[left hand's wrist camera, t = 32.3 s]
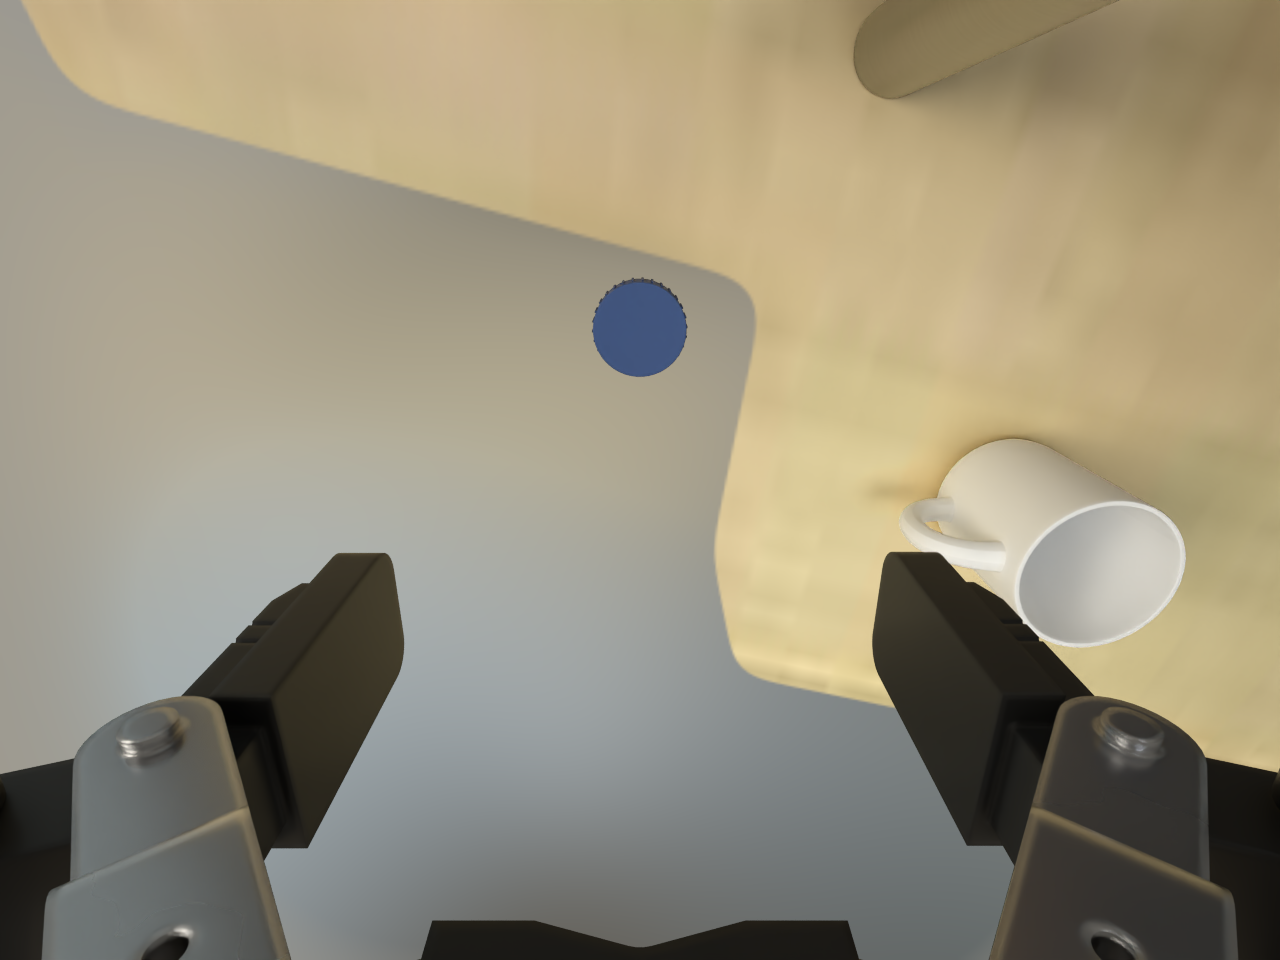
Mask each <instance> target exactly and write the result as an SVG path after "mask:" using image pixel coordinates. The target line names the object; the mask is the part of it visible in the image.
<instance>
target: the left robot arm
mask: <svg viewBox="0 0 1280 960" xmlns="http://www.w3.org/2000/svg"><path fill="white" fill-rule="evenodd" d="M872 647H873V657H874V662H875V666H876V670H877V672H878V675H879V677H880V679H881V681H882V682H883V684H884V686H885V688H886V690H887V692H888V694H889V696H890V698H891V700H892V702H893V704H894V706H895V708H896V709H897V711H898V713H899V715H900V717H901V719H902V721H903V723H904V725H905V727H906V729H907V731H908V733H909V735H910V736H911V738H912V740H913V742H914V744H915V746H916V748H917V750H918V752H919V754H920V756H921V758H922V760H923V762H924V763H925V765H926V767H927V769H928V771H929V773H930V775H931V777H932V779H933V781H934V783H935V785H936V787H937V789H938V790H939V792H940V794H941V796H942V798H943V800H944V802H945V804H946V806H947V808H948V810H949V812H950V814H951V816H952V818H953V819H954V821H955V823H956V825H957V827H958V829H959V831H960V833H961V835H962V837H963V839H964V841H965V843H966V845H967V846H1003V847H1004V848H1005V850H1006V852H1007V854H1008V855H1009V857H1010V859H1011V861H1012V862H1013V864H1014V870H1013V874H1012V877H1011V881H1010V884H1009V888H1008V892H1007V895H1006V899H1005V903H1004V906H1003V910H1002V914H1001V917H1000V921H999V925H998V928H997V932H996V935H995V939H994V943H993V946H992V950H991V954H990V957H989V960H1280V769H1279V771H1278V773H1277V772H1272V771H1267V770H1262V769H1258V768H1253V767H1248V766H1243V765H1239V764H1234V763H1229V762H1225V761H1220V760H1215V759H1210V758H1206V757H1205V756H1204V754H1203V752H1202V750H1201V749H1200V747H1199V746H1198V745H1197V743H1196V742H1195V741H1194V740H1193V739H1192V738H1191V737H1190V736H1189V735H1188V734H1187V733H1185V732H1184V731H1183V730H1182V729H1180V728H1179V727H1178V726H1176V725H1175V724H1173V723H1172V722H1170V721H1169V720H1167V719H1165V718H1163V717H1161V716H1160V715H1158V714H1156V713H1154V712H1152V711H1149V710H1147V709H1145V708H1142V707H1140V706H1137V705H1135V704H1132V703H1128V702H1125V701H1122V700H1117V699H1113V698H1108V697H1100V696H1094V695H1093V694H1092V693H1091V692H1090V691H1089V690H1088V689H1087V687H1086V686H1085V685H1084V684H1083V683H1082V682H1081V681H1080V680H1079V679H1078V678H1077V677H1076V676H1075V675H1074V674H1073V673H1072V672H1071V671H1070V669H1069V668H1068V667H1067V666H1066V665H1065V664H1064V663H1063V662H1062V661H1061V660H1060V659H1059V658H1058V657H1057V656H1056V655H1055V654H1054V653H1053V651H1052V650H1051V649H1050V648H1049V647H1048V646H1047V645H1046V644H1045V643H1044V642H1043V641H1039V637H1038V636H1037V635H1036V633H1035V632H1034V631H1033V630H1032V629H1031V628H1030V627H1029V626H1028V625H1027V624H1023V620H1022V619H1021V618H1020V617H1019V615H1018V614H1017V613H1016V612H1015V611H1014V610H1013V609H1012V608H1011V607H1010V606H1009V605H1008V604H1007V603H1006V602H1005V601H1004V600H1003V599H1002V598H1000V597H998V596H997V595H995V594H993V593H992V592H990V591H988V590H986V589H985V588H983V587H981V586H980V585H978V584H976V583H974V582H966V581H965V580H964V579H963V578H962V577H961V576H960V575H959V574H958V572H957V571H956V570H955V569H954V568H953V567H952V566H951V565H950V563H949V562H948V561H947V560H946V559H945V558H944V557H943V556H942V555H941V554H940V553H938V552H890V553H889V554H887V556H886V558H885V560H884V563H883V568H882V575H881V582H880V589H879V595H878V602H877V609H876V616H875V622H874V629H873V639H872ZM403 654H404V635H403V628H402V621H401V614H400V608H399V601H398V594H397V588H396V581H395V574H394V568H393V564H392V561H391V558H390V557H389V555H388V554H386V553H338V554H336V555H335V556H334V557H333V558H332V559H331V560H330V561H329V562H328V563H327V564H326V565H325V567H324V568H323V569H322V570H321V571H320V572H319V573H318V574H317V576H316V577H315V578H314V579H313V580H312V581H311V582H310V583H302V584H300V585H298V586H297V587H295V588H293V589H291V590H290V591H288V592H286V593H285V594H283V595H281V596H279V597H278V598H276V599H274V600H273V601H271V602H270V603H269V605H268V606H267V607H266V608H265V609H264V610H263V611H262V612H261V613H260V614H259V615H258V616H257V617H256V618H255V619H254V620H253V623H252V625H249V626H248V627H247V628H246V629H245V630H244V631H243V632H242V633H241V634H240V635H239V636H238V637H237V638H236V643H231V644H230V645H229V647H228V648H227V649H226V650H225V651H224V652H223V653H222V654H221V655H220V656H219V657H218V658H217V659H216V660H215V661H214V662H213V663H212V664H211V665H210V666H209V667H208V669H207V670H206V671H205V672H204V673H203V674H202V675H201V676H200V677H199V678H198V679H197V680H196V681H195V682H194V683H193V684H192V685H191V686H190V687H189V688H188V690H187V691H186V692H185V693H184V694H183V695H182V696H181V697H172V698H168V699H163V700H158V701H155V702H152V703H148V704H145V705H143V706H140V707H138V708H135V709H133V710H131V711H128V712H126V713H124V714H122V715H120V716H119V717H117V718H115V719H113V720H111V721H110V722H108V723H107V724H105V725H104V726H102V727H101V728H100V729H98V730H97V731H96V732H95V733H94V734H92V735H91V736H90V737H89V738H88V739H87V740H86V741H85V742H84V743H83V745H82V746H81V747H80V749H79V750H78V752H77V754H76V756H75V758H74V759H70V760H65V761H60V762H56V763H51V764H46V765H42V766H37V767H32V768H28V769H23V770H18V771H13V772H9V773H4V774H0V960H291V957H290V954H289V950H288V946H287V943H286V939H285V935H284V932H283V928H282V924H281V921H280V917H279V914H278V910H277V906H276V903H275V899H274V895H273V892H272V888H271V885H270V881H269V877H268V874H267V870H266V866H265V863H264V860H265V858H266V857H267V855H268V853H269V851H270V850H271V848H308V846H309V845H310V843H311V841H312V839H313V837H314V835H315V833H316V831H317V829H318V827H319V825H320V823H321V822H322V820H323V818H324V816H325V814H326V812H327V810H328V808H329V806H330V804H331V803H332V801H333V799H334V797H335V795H336V793H337V791H338V789H339V787H340V785H341V783H342V782H343V780H344V778H345V776H346V774H347V772H348V770H349V768H350V766H351V764H352V763H353V761H354V759H355V757H356V755H357V753H358V751H359V749H360V747H361V745H362V743H363V741H364V740H365V738H366V736H367V734H368V732H369V730H370V728H371V726H372V724H373V722H374V720H375V719H376V717H377V715H378V713H379V711H380V709H381V707H382V705H383V703H384V702H385V700H386V698H387V696H388V694H389V692H390V690H391V688H392V686H393V684H394V682H395V681H396V679H397V677H398V675H399V672H400V669H401V665H402V661H403ZM419 960H861V959H859V958H858V954H857V951H856V947H855V944H854V941H853V937H852V934H851V931H850V927H849V924H848V921H742V922H739V923H735V924H732V925H728V926H724V927H720V928H716V929H713V930H709V931H705V932H702V933H698V934H694V935H691V936H687V937H683V938H679V939H676V940H672V941H668V942H665V943H661V944H657V945H654V946H649V947H631V946H626V945H623V944H619V943H615V942H612V941H608V940H604V939H601V938H597V937H593V936H589V935H586V934H582V933H578V932H574V931H571V930H567V929H563V928H560V927H556V926H552V925H549V924H545V923H541V922H537V921H432V924H431V927H430V930H429V934H428V937H427V941H426V944H425V947H424V951H423V954H422V958H421V959H419Z"/></svg>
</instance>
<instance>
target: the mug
mask: <svg viewBox="0 0 1280 960" xmlns="http://www.w3.org/2000/svg"><path fill="white" fill-rule="evenodd" d="M931 521H938V524H939V527H940V529H941V531H942V533H943V534H942V533H940V532H937V531H935V530H933V529H931V528H930V527H928V526H927V525H926V524H925V522H931ZM899 526H900V530H901V532H902V533H903V535H904V537H905V538H906V539H907V540H908V541H909V542H910V543H911V544H912V545H913V546H914V547H916V548H917V549H919V550H920V551H922V552H938V553H940V554H941V555H942V556H943V557H944V558H945V559H946V560H947V561H948V562H949V563H950V564H952V565H956V566H960V567H965V568H971V569H973V570H974V571H975V572H976V573H977V574H978V575H979V577H980V578H981V579H982V580H983V581H984V582H985V583H986V584H987V585H988V586H989V587H990V588H991V589H992V590H993V591H994V593H995V594H996V595H997V596H998V597H1000V598H1002V599H1003V600H1004V601H1005V602H1006V603H1007V604H1008V605H1009V606H1010V607H1011V608H1012V609H1013V610H1014V611H1015V612H1016V613H1017V614H1018V615H1019V617H1020V618H1021V619H1022V620H1023V623H1024V624H1027V625H1028V626H1029V627H1030V628H1031V629H1032V630H1033V631H1034V632H1035V633H1036V635H1037V636H1038V637H1040V638H1042V639H1044V640H1046V641H1049V642H1052V643H1054V644H1057V645H1062V646H1067V647H1092V646H1099V645H1103V644H1107V643H1111V642H1114V641H1116V640H1119V639H1122V638H1124V637H1126V636H1128V635H1130V634H1132V633H1134V632H1136V631H1137V630H1139V629H1141V628H1142V627H1143V626H1145V625H1146V624H1148V623H1149V622H1150V621H1151V620H1153V619H1154V618H1155V617H1156V616H1157V615H1158V614H1159V613H1160V612H1161V611H1162V610H1163V609H1164V608H1165V607H1166V605H1167V604H1168V603H1169V601H1170V600H1171V599H1172V597H1173V596H1174V594H1175V592H1176V591H1177V589H1178V586H1179V584H1180V582H1181V580H1182V576H1183V573H1184V568H1185V561H1186V555H1185V546H1184V541H1183V539H1182V536H1181V534H1180V532H1179V530H1178V528H1177V527H1176V525H1175V524H1174V523H1173V521H1172V520H1171V519H1170V518H1169V517H1168V516H1167V515H1165V514H1164V513H1163V512H1162V511H1160V510H1158V509H1156V508H1155V507H1153V506H1151V505H1149V504H1148V503H1146V502H1144V501H1142V500H1141V499H1139V498H1137V497H1135V496H1134V495H1132V494H1130V493H1128V492H1127V491H1125V490H1123V489H1121V488H1120V487H1118V486H1116V485H1114V484H1112V483H1111V482H1109V481H1107V480H1105V479H1104V478H1102V477H1100V476H1098V475H1097V474H1095V473H1093V472H1091V471H1090V470H1088V469H1086V468H1084V467H1083V466H1081V465H1079V464H1077V463H1076V462H1074V461H1072V460H1070V459H1069V458H1067V457H1065V456H1063V455H1062V454H1060V453H1058V452H1056V451H1055V450H1053V449H1051V448H1049V447H1047V446H1044V445H1042V444H1039V443H1037V442H1033V441H1029V440H1024V439H1004V440H998V441H994V442H991V443H987V444H985V445H982V446H980V447H978V448H976V449H974V450H972V451H971V452H969V453H968V454H966V455H965V456H964V457H963V458H961V459H960V460H959V461H958V462H957V463H956V464H955V465H954V466H953V467H952V468H951V470H950V471H949V472H948V474H947V475H946V477H945V479H944V480H943V482H942V485H941V487H940V489H939V493H938V496H937V498H929V499H923V500H920V501H916V502H914V503H911V504H909V505H908V506H907V507H906V508H905V509H904V510H903V511H902V513H901V515H900V517H899Z"/></svg>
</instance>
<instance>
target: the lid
mask: <svg viewBox="0 0 1280 960" xmlns="http://www.w3.org/2000/svg"><path fill="white" fill-rule="evenodd" d="M599 304H600V305H599V307H597V308H596V310H595V313H596V314H595V317H594V319H593V321H592V322H593V330H592V332H593V336H594V342H595V345H596V347H597V350H598V352H599V353H600V355H601V357H602V358H603V359H604V360H605V362H606V363H607V364H608V365H610V366H611V367H612V368H613V369H615V370H617V371H619V372H621V373H623V374H626V375H629V376H636V377H644V376H650V375H654V374H657V373H659V372H661V371H663V370H664V369H666V368H667V367H669V366H670V365H671V364H672V363H673V362H674V361H675V360H676V358H677V357H678V356H679V354H680V352H681V351H682V348H683V347H684V343H685V339H686V337H687V336H686V328H687V324H686V320H685V318H686V315H685V313H683V310H682V309H683V307H682V305H681V303H680V304H679V302H678V298H677V296H676V295H675V296H674V294H672V292H671V290H670V288H668V289H667V288H666V287H665V286H663V284H662V283H657V282H655V281H653V279H651V280H648V279H644V278H643V277H642V279H634V278H632V280H628V281H624V280H623V281H622V283H620V284H618V285H617V286H616V285H614V286H613V288H612V289H611V290H610V291H609V292H608V291H607V292H606V294H605V297H604V298H603V299H601V300H600V302H599Z"/></svg>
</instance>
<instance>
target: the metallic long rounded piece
mask: <svg viewBox="0 0 1280 960" xmlns="http://www.w3.org/2000/svg"><path fill="white" fill-rule="evenodd" d="M1117 1H1119V0H886V1H885V2H884V3H883V4H881V5H880V6H879V7H878V8H877V9H876V10H875V11H873V12H872V13H871V14H870V15H869V17H868V18H867V19H866V20H865V22H864V23H863V25H862V27H861V28H860V31H859V33H858V35H857V39H856V42H855V47H854V64H855V69H856V72H857V75H858V77H859V79H860V81H861V82H862V84H863V85H864V86H865V88H867V89H868V90H869V91H870V92H871V93H873V94H875V95H877V96H879V97H883V98H889V99H891V98H900V97H903V96H906V95H908V94H911V93H913V92H915V91H917V90H920V89H922V88H924V87H926V86H929V85H931V84H933V83H935V82H938V81H940V80H942V79H944V78H946V77H949V76H951V75H953V74H955V73H958V72H960V71H962V70H964V69H967V68H969V67H971V66H973V65H976V64H978V63H980V62H982V61H985V60H987V59H989V58H991V57H993V56H996V55H998V54H1000V53H1002V52H1005V51H1007V50H1009V49H1011V48H1014V47H1016V46H1018V45H1020V44H1023V43H1025V42H1027V41H1029V40H1032V39H1034V38H1036V37H1038V36H1040V35H1043V34H1045V33H1047V32H1049V31H1052V30H1054V29H1056V28H1058V27H1061V26H1063V25H1065V24H1067V23H1070V22H1072V21H1074V20H1076V19H1079V18H1081V17H1083V16H1085V15H1088V14H1090V13H1092V12H1094V11H1096V10H1099V9H1101V8H1103V7H1105V6H1108V5H1110V4H1112V3H1114V2H1117Z"/></svg>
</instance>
